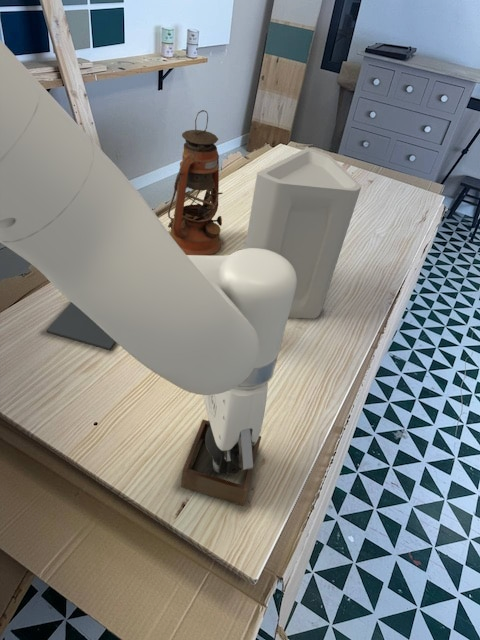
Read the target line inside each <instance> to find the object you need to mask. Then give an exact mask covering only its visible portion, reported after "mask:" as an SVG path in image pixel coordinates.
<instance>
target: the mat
mask: <svg viewBox="0 0 480 640" xmlns="http://www.w3.org/2000/svg"><path fill="white" fill-rule="evenodd" d="M45 331H46V333H49V334H51V335H55V336H59V337H62V338H65V339H69V340H72V341H75V342H80V343H83V344H87V345H90V346H94V347H98V348H101V349H104V350H107V351H111V350H112V349H113V347H114V346H115V344H116V342H115V341H114V340H113V339H112V338H111V337H110V336H109V335H108V334H107V333H106V332H105V331H104V330H102V329H101V328H100V327H99V326H98V325H97V324H96V323H95V322H94V321H92V320H91V319H90V318H89V317H88V316H87V315H86V314H85V313H84V312H82V311H81V310H80V309H79V308H78V307H77V306H75V305H74V304H73V303H72V302H71V301H70V303H69V304H68V305H67V307H66V308H64V310H63V311H62V312H61V313H60V314H59V315H58V316H57V318H56V319H55V320H54V321H53V322H52V323H51V324H50V325H49V326H48V328H46V329H45Z"/></svg>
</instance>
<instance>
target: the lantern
mask: <svg viewBox="0 0 480 640" xmlns="http://www.w3.org/2000/svg"><path fill="white" fill-rule="evenodd" d="M203 112H205V113H206V126H205V129H204V130H201V129H197V118H198V116H199V115H200V113H203ZM208 122H209V114H208V112H207V110H204V109H202V110H200V111H198V112H197V114H196V117H195V120H194V125H195V126H194V129H189V130H185V131H184V132H182V133H181V137H182V138H183V139H184V140H185V142H184V144H183V152H182V159H181V161H180V162H179V169H178V172H177V174H176V178H175V181H174V185H173V190H174V191H173V194H172V197H171V201H170V203H169V207H168V210H167V217H168V219H170V222H169V223H168V225H167V228H170V232H169V234H170V235H171V236H172V238H173V239H174V240H175V242H176V243H177V244H178V245H179V247H180V248H181V249H182V250H183V252H184V253H185V254H186V255H205V256H214V255H216V254H217V253H218V252H220V250H221V249H222V246H223V244H222V243H223V242H222V240H221V237H220V233H221V226H222V225H223V218H222V216H221V215H218V217H216V219H213V218H214V217H215V216H216V214H217V212H218V210H219V209H218V208H219V195H223V192H219V191H220V189H219V186H220V185H219V184H220V183H219V182H220V181H219V178H220V171H219V170H220V166H219V165H220V161H219V159H220V154H219V152H218V147H217V146H216V145H215V144H216V143H217V142H218V141H219V138H218V137H217V135H216V134H214V133H213V132H210V131H207V129H208ZM187 189H190V190H194V191H197V193H196V195H195V196H194V195H193V194H190V193H187V192H186V191H187ZM201 191H205V193H204V197H203V199H202V198H199V197H198V196H199V194H200V192H201ZM186 198H187V199H188V200H191V203H190V204H187V205H185V199H186ZM174 200H175V206H174V213H173V217H171V209H172V206H173V203H174ZM196 201H197V202H196ZM198 202H200V203H198ZM194 203H196V204H194ZM201 203H202V204H201Z"/></svg>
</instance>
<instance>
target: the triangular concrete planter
mask: <svg viewBox="0 0 480 640" xmlns="http://www.w3.org/2000/svg"><path fill="white" fill-rule="evenodd" d="M362 188H363V187H362V184H361V183H360V182H359V181H358V180H357V179H356V178H355V177H353V175H351V173H349V172H348V171H347V170H346V169H345V168H344V167H343V166H342V165H340V164H339V163H338V161H336V160H335V159H334V158H333V157H332V156H331V155H329V154H327V153H325V152H323V151H320V150H317V149H314V148H310V147H306V148H304V149H302V150H300V151H297V152H295V153H294V154H292V155H290V156H287V157H286V158H283V159H281V160H280V161H278V162H276V163H273V164H272V165H269V166H267V167H266V168H264V169H261V170H260V171H257V173H256V178H255V185H254V190H253V196H252V202H251V208H250V214H249V218H248V219H249V220H248V226H247V232H246V238H245V242H244V243H245V244H244V249H247V248H260V249H266V250H269V251H272V252H275V253H277V254H279V255H281V256H282V257H284V258H285V259H286V260H288V261H289V262H290V264H291V265H292V266H293V268H294V270H295V272H296V277H297V284H296V290H295V294H294V298H293V301H292V305H291V309H290V313H289V316H288V318H294V319H309V320H311V319H312V320H315V319H316V318H318V317H319V316H320V315H321V313H322V310H323V307H324V304H325V301H326V298H327V294H328V291H329V289H330V288H329V287H330V285H331V283H332V279H333V276H334V273H335V270H336V267H337V263H338V260H339V258H340V254H341V252H342V248H343V246H344V243H345V239H346V235H347V234H348V231H349V230H348V229H349V227H350V223H351V220H352V217H353V214H354V212H355V209H356V205H357V202H358V199H359V196H360V193H361V191H362V190H361V189H362Z"/></svg>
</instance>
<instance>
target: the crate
mask: <svg viewBox="0 0 480 640" xmlns="http://www.w3.org/2000/svg"><path fill="white" fill-rule="evenodd" d="M208 421H209V420H206V419H202V420H201V423H200V425H199V427H198V430H197V432H196V435H195V438H194V440H193V442H192V446H191V448H190V450H189V452H188V455H187V457H186V461H185V464H184V466H183V468H182V470H181V479H180V480H181V481H180V482H181V483H180V487H181V488H184V489H186V490H190V491H193V492H196V493H200V494H202V495H206V496H209V497H212V498H216V499H220V500H222V501H225V502H229V503H232V504H235V505H238V506H240V507H244V504H245V501H246V500H245V499H246V497H247V493H248V490H249V485H250V482H251V478H252V475H253V471H254V466H255V463H256V460H257V459H256V458H257V454H258V451H259V447H260V444H261V440H262V436H261V435H259V438H258V440H257V442H256V444H255V445H254V446H253V445H252V457H253V468H251V469H247V472H246V476H245V480H244V484H240V483H236V482H233V481H230V480H227V479H224V478H220V477H217V476H214V475H210V474H208V473H205V472H200V471H198V470H194V469H193V467H194V465H195V463H196V460H197V457H198V455H199V452H200V449H201V446H202V444H203V441H205V436H206V432H207V430H208V429H207V428H208Z"/></svg>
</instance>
